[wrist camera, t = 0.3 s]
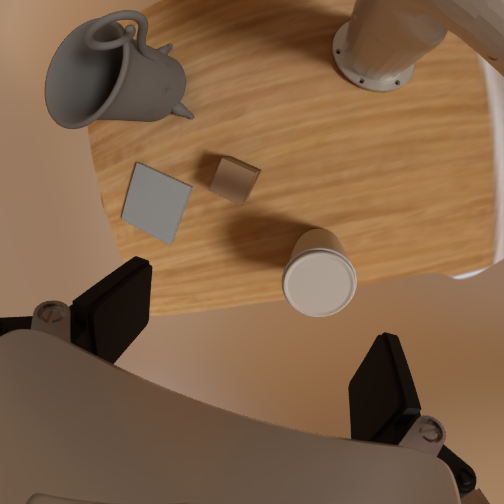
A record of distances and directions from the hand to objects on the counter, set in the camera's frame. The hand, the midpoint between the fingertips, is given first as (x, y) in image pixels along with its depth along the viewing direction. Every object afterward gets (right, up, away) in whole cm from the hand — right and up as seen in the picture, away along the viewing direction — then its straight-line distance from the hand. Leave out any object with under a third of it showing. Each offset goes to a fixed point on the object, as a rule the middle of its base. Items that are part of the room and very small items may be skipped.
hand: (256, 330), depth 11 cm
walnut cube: (-2, +14, +33) cm, 36 cm away
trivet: (-17, +11, +37) cm, 42 cm away
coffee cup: (+10, +3, +35) cm, 36 cm away
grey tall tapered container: (-14, +30, +30) cm, 45 cm away
